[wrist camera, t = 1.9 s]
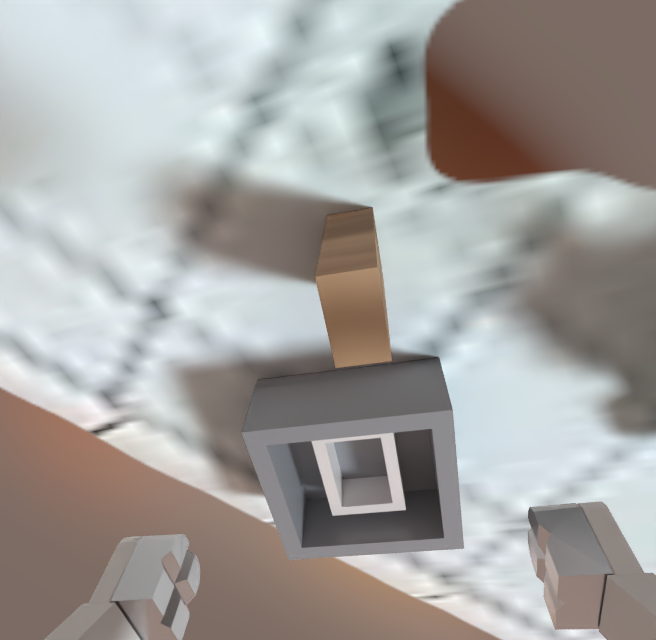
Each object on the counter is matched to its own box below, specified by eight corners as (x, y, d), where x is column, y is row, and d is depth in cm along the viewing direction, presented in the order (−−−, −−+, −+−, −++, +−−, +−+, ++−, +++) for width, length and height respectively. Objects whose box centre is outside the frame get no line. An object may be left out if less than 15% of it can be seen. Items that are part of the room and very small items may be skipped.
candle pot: (257, 380, 31) (241, 432, 27) (439, 357, 30) (452, 409, 25) (297, 500, 37) (288, 559, 33) (451, 487, 35) (464, 548, 31)
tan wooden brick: (326, 215, 26) (315, 276, 19) (372, 207, 25) (377, 267, 18) (341, 288, 28) (335, 367, 21) (383, 282, 27) (391, 361, 20)
